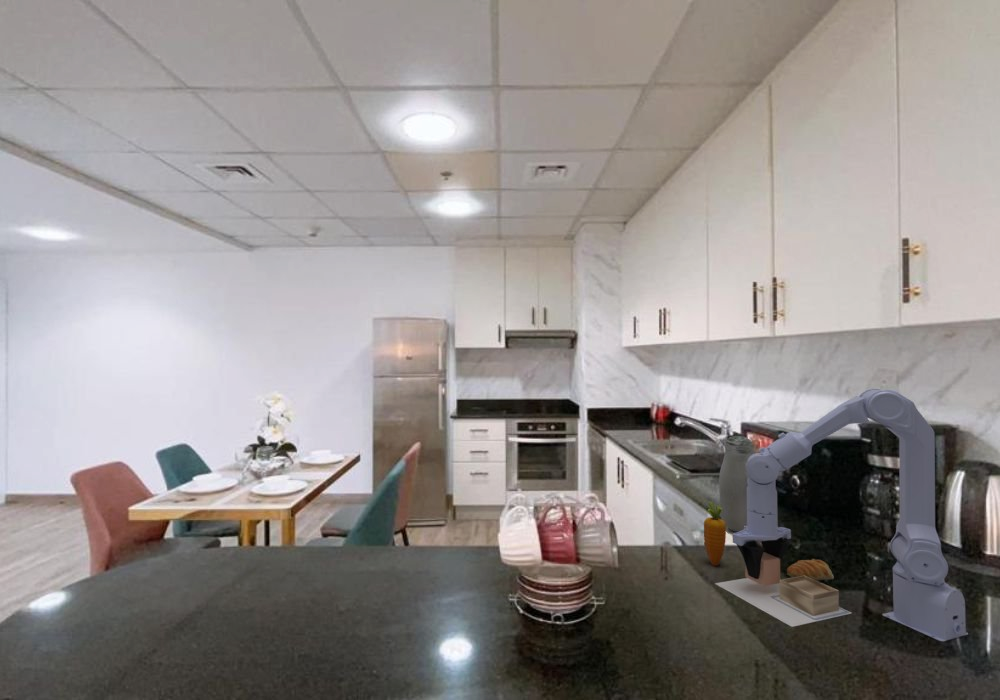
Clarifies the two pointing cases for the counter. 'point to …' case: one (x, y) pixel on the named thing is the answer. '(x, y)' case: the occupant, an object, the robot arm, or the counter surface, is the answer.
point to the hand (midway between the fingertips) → (762, 575)
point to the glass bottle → (735, 482)
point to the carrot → (714, 535)
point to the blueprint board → (774, 602)
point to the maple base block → (809, 595)
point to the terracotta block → (767, 570)
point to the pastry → (810, 569)
